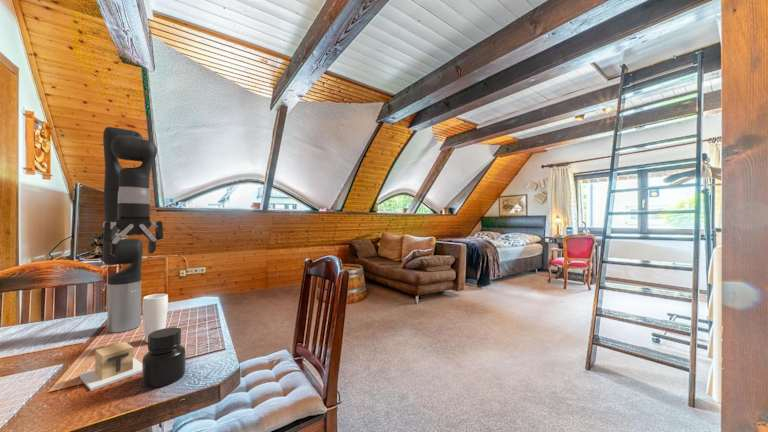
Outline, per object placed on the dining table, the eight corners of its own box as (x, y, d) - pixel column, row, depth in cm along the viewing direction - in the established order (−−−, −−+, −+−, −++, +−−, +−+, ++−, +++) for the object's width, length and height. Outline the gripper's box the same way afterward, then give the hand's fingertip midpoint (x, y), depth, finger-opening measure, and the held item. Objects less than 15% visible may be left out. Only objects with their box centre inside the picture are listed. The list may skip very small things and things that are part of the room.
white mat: (78, 376, 73) (78, 374, 73) (132, 358, 83) (132, 356, 83) (90, 391, 67) (90, 388, 67) (147, 370, 77) (147, 367, 77)
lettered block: (124, 362, 79) (124, 341, 79) (133, 369, 76) (133, 347, 76) (94, 372, 74) (95, 349, 74) (102, 380, 71) (102, 356, 71)
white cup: (153, 345, 91) (153, 299, 91) (136, 343, 92) (136, 298, 92) (172, 337, 97) (173, 294, 98) (156, 335, 99) (157, 292, 99)
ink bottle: (181, 365, 80) (182, 322, 80) (191, 376, 74) (192, 331, 74) (136, 380, 72) (136, 333, 72) (144, 394, 66) (144, 343, 66)
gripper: (157, 203, 95) (156, 251, 95) (98, 201, 83) (98, 256, 83) (166, 203, 91) (166, 253, 91) (106, 201, 79) (106, 258, 79)
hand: (133, 254), depth 87 cm, fingers open, 8 cm apart
